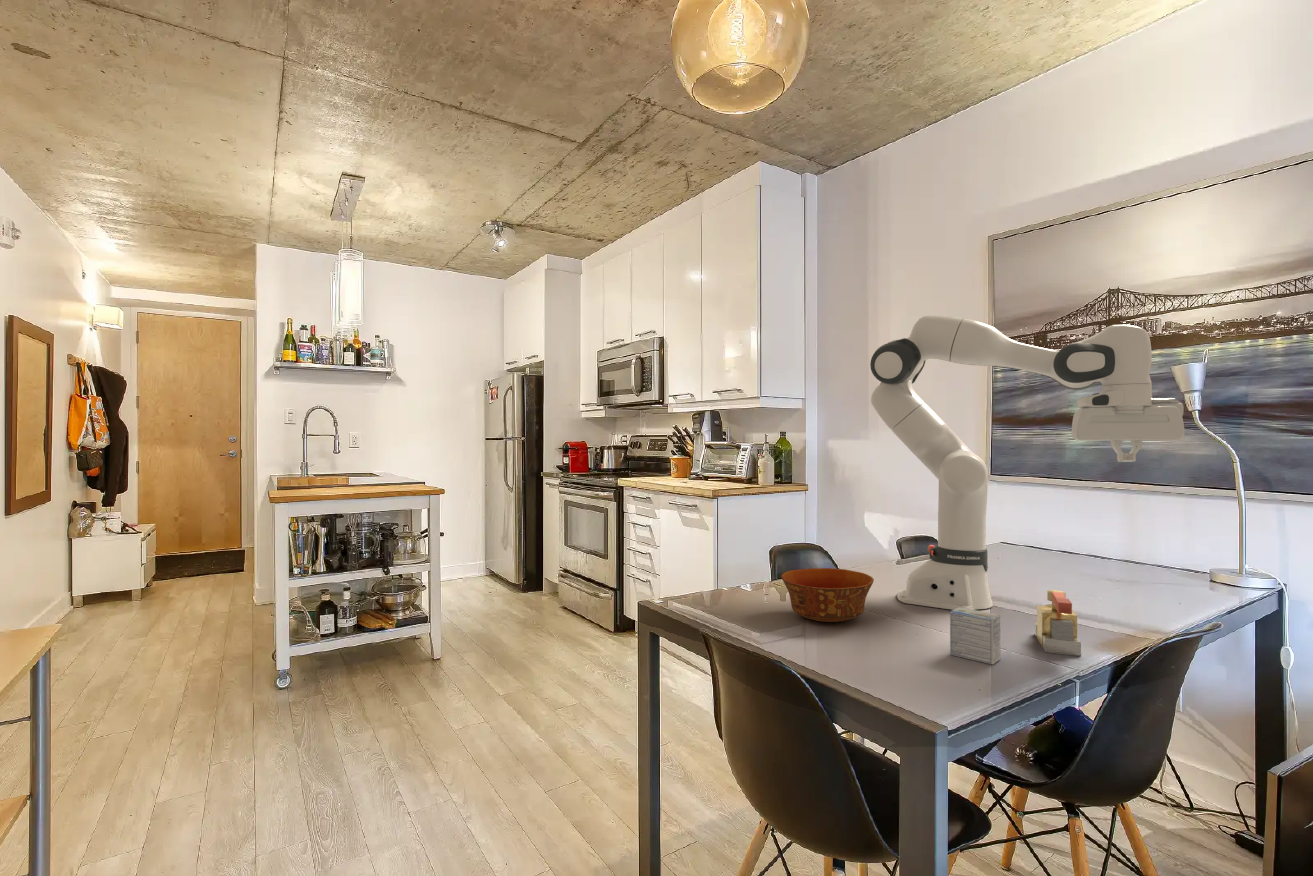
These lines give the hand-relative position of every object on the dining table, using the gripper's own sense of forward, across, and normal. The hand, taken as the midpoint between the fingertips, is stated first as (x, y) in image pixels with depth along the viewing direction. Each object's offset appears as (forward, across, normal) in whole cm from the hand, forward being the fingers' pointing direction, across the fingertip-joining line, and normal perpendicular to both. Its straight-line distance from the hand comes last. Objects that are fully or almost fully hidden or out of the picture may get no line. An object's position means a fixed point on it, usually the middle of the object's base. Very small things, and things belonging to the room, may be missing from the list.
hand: (1126, 461), depth 139 cm
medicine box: (+37, +35, +29) cm, 59 cm away
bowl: (+37, +63, +10) cm, 74 cm away
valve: (+37, +18, +15) cm, 44 cm away
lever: (+28, +18, +20) cm, 39 cm away
